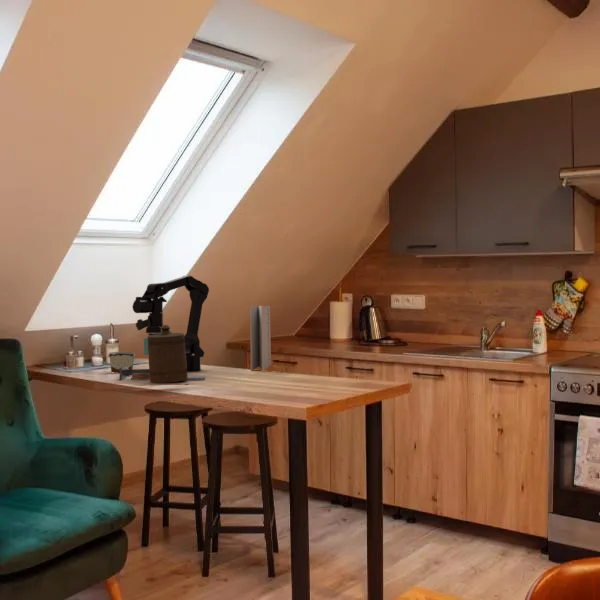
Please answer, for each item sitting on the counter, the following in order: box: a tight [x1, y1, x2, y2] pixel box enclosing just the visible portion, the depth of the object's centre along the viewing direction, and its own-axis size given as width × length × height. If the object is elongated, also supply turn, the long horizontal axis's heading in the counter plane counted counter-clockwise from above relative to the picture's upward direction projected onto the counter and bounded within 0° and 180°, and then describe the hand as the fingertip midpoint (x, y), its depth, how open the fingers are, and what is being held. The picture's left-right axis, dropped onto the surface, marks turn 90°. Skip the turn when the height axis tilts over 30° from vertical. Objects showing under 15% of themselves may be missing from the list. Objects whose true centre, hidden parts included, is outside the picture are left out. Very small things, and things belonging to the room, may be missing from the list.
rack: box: [119, 365, 150, 381], centre depth 336 cm, size 22×20×5 cm
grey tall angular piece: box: [249, 305, 272, 371], centre depth 349 cm, size 14×6×30 cm, turn 168°
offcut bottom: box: [130, 376, 150, 381], centre depth 329 cm, size 13×4×2 cm, turn 92°
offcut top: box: [131, 373, 150, 377], centre depth 329 cm, size 12×3×2 cm, turn 90°
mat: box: [182, 375, 206, 382], centre depth 323 cm, size 12×10×1 cm
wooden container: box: [147, 324, 189, 384], centre depth 313 cm, size 15×15×22 cm
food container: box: [107, 351, 136, 372], centre depth 358 cm, size 12×6×10 cm, turn 84°
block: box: [143, 337, 148, 356], centre depth 335 cm, size 10×3×7 cm, turn 93°
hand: (156, 349), depth 335 cm, fingers closed on block, 3 cm apart
